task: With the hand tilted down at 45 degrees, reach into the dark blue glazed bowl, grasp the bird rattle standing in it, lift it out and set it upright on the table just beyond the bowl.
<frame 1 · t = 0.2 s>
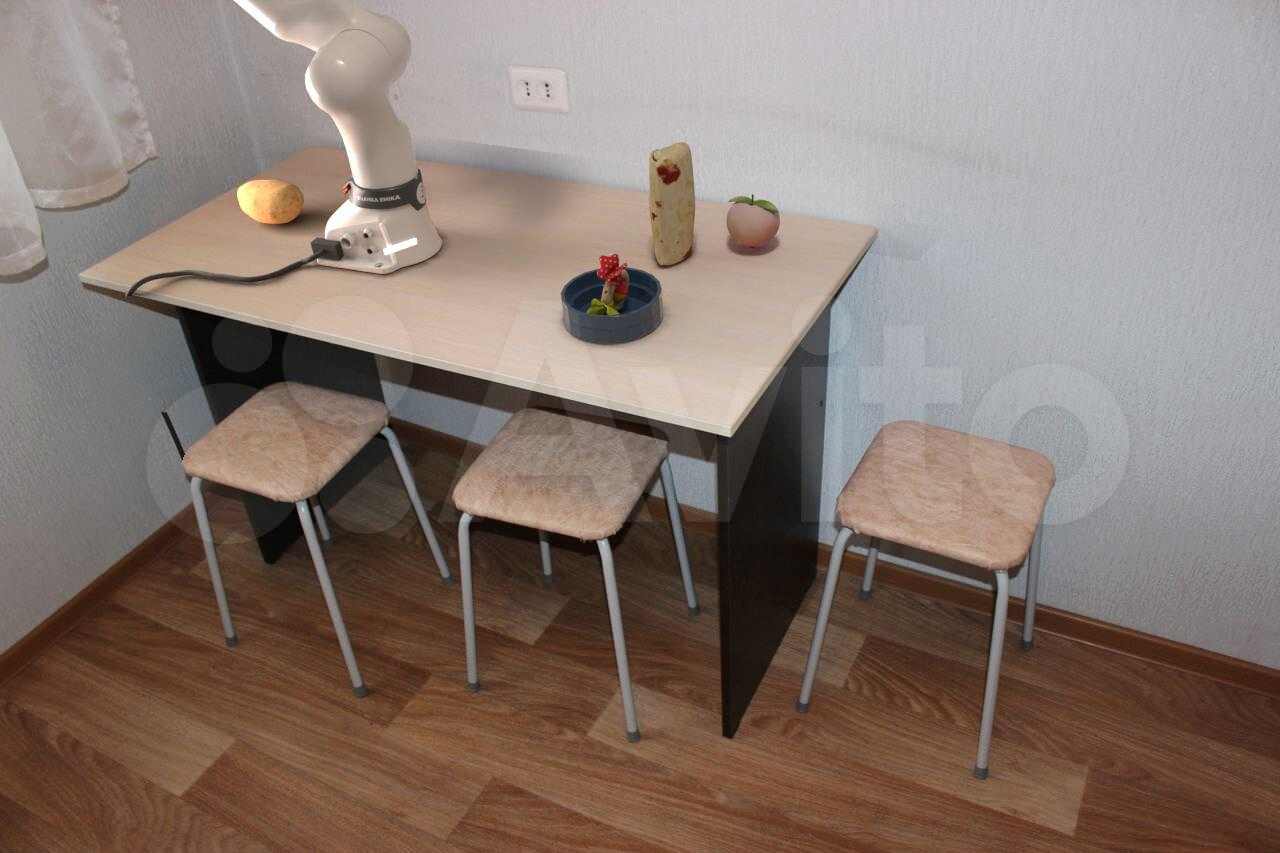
potato: (276, 222, 202), on the table
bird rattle: (613, 317, 165), resting on bowl
decorative fruit: (752, 250, 181), on the table
bowl: (613, 318, 165), on the table
food model: (674, 258, 180), on the table
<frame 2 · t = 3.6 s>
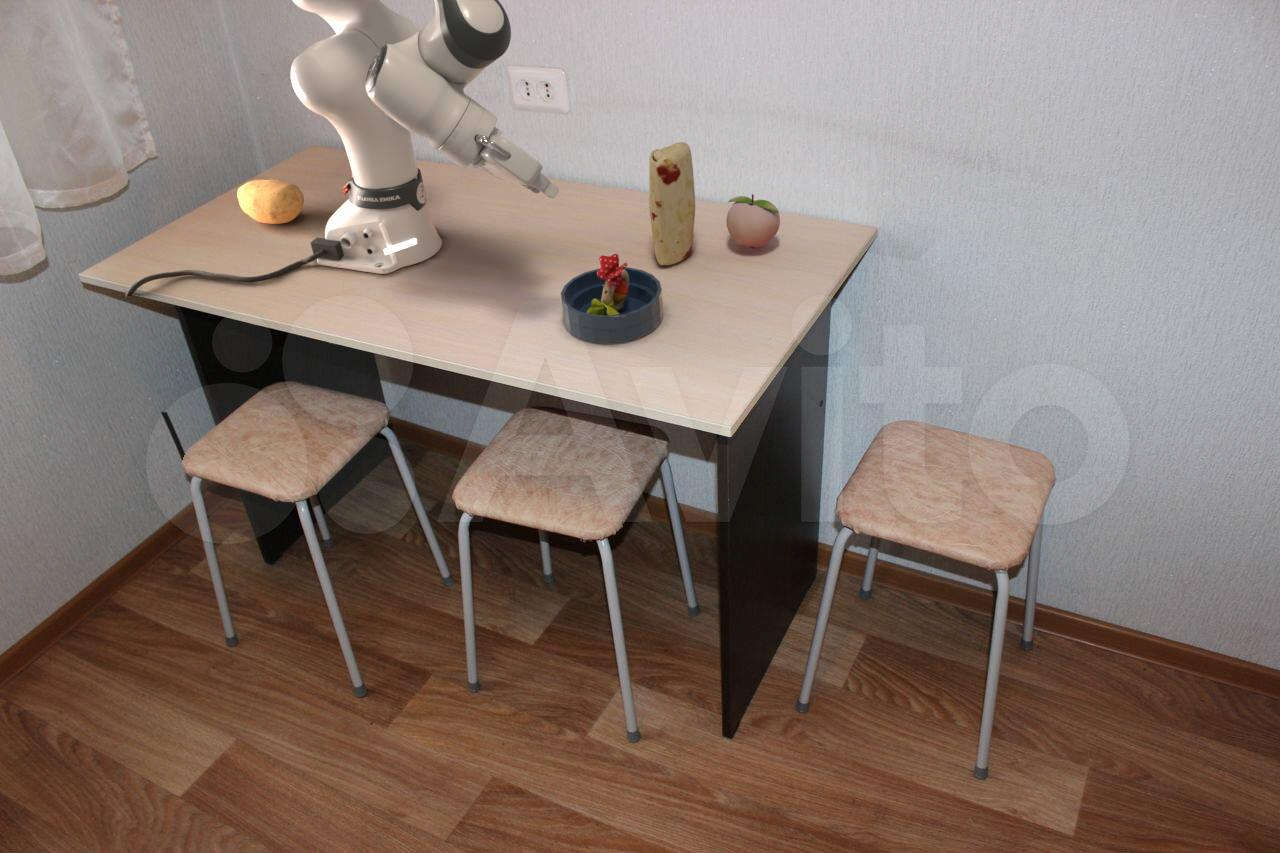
hand: (547, 191, 155), 21 cm above the table, tool tilted 45°, fingers open, 8 cm apart
nothing on the table moved.
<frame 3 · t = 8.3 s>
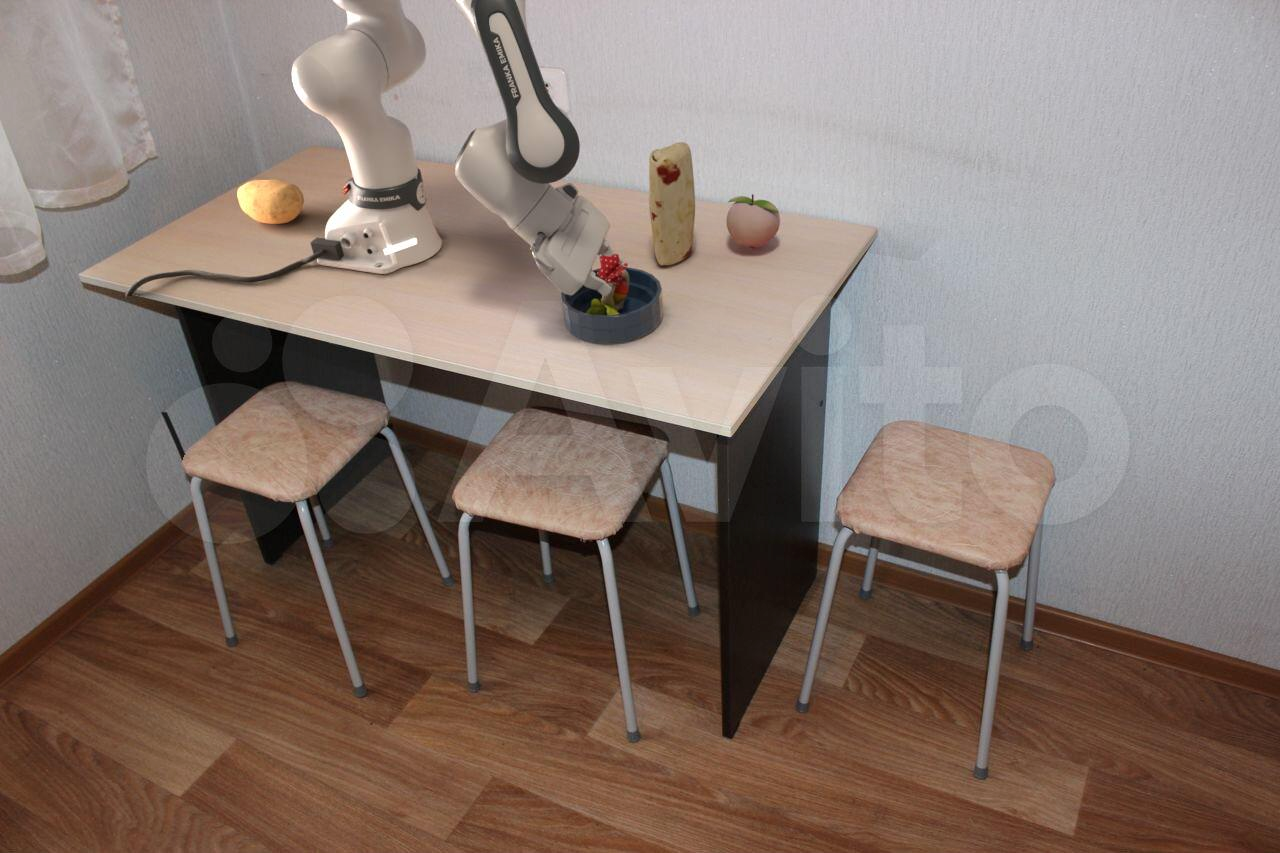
hand: (614, 279, 161), 7 cm above the table, tool tilted 45°, fingers closed on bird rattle, 6 cm apart
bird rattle: (613, 317, 165), resting on bowl, touching gripper
everything else where it was.
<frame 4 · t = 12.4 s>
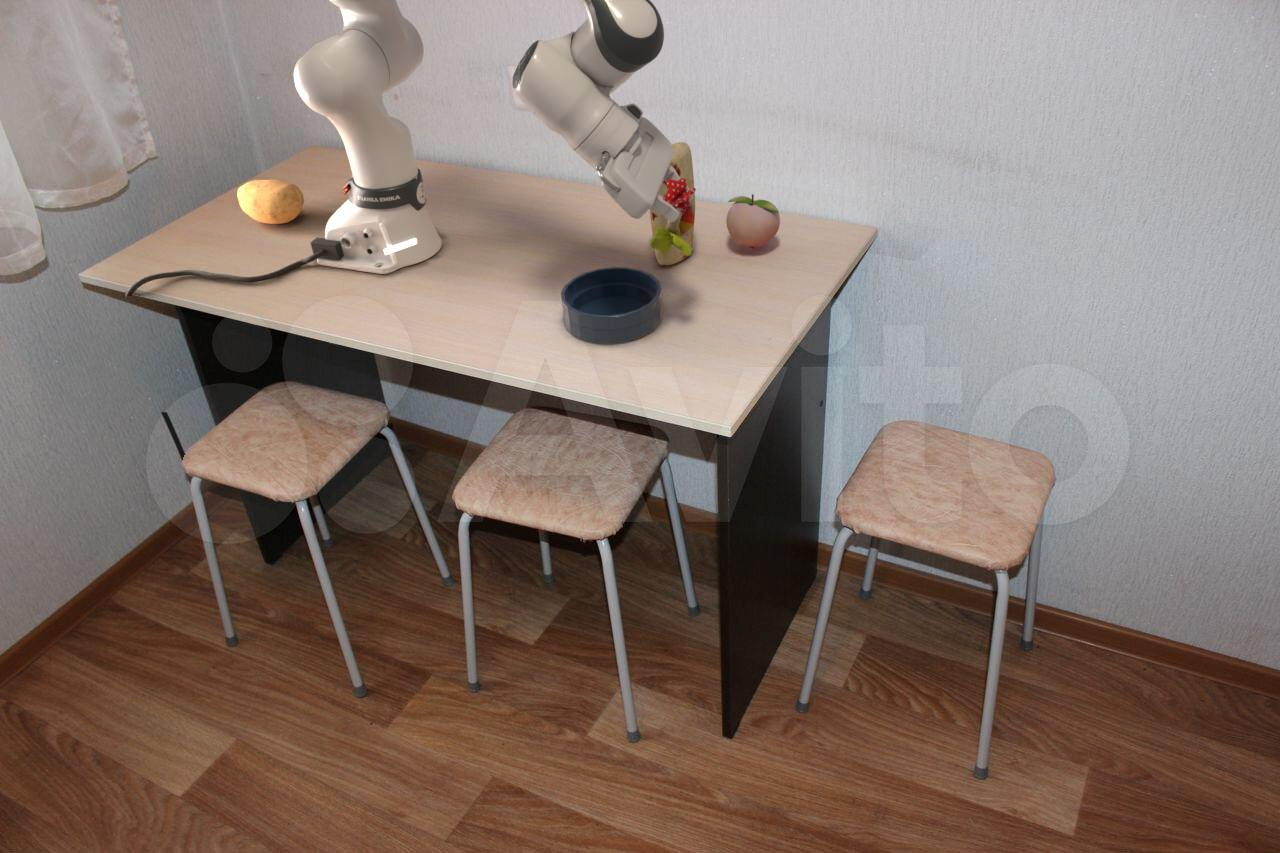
hand: (681, 205, 151), 20 cm above the table, tool tilted 45°, fingers closed on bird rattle, 6 cm apart
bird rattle: (678, 248, 155), point 13 cm above the table, touching gripper
everything else where it was.
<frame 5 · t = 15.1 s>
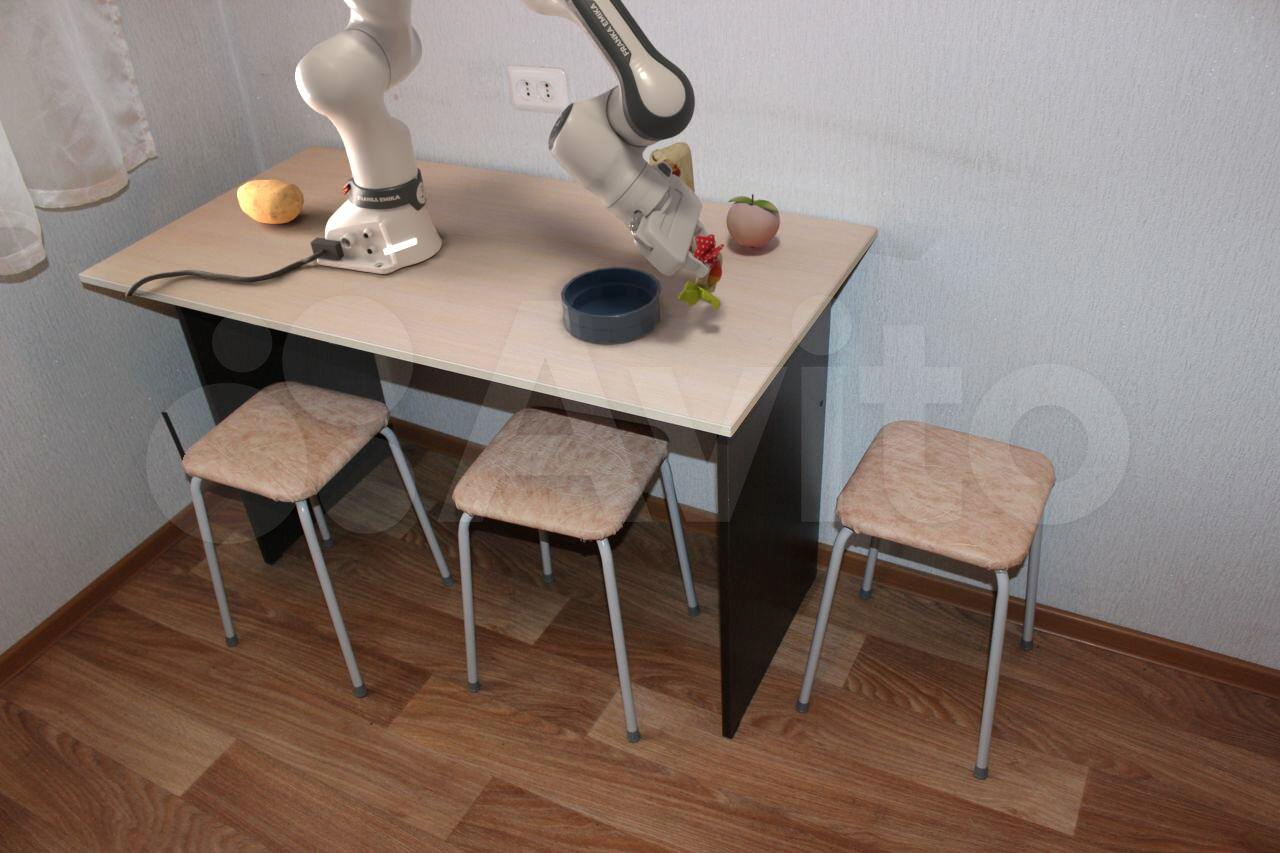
hand: (709, 260, 155), 11 cm above the table, tool tilted 45°, fingers closed on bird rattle, 6 cm apart
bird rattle: (705, 300, 159), point 4 cm above the table, touching gripper
everything else where it was.
when the fingers open (7 cm above the table, at t = 16.9 s): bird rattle stays where it is, on the table.
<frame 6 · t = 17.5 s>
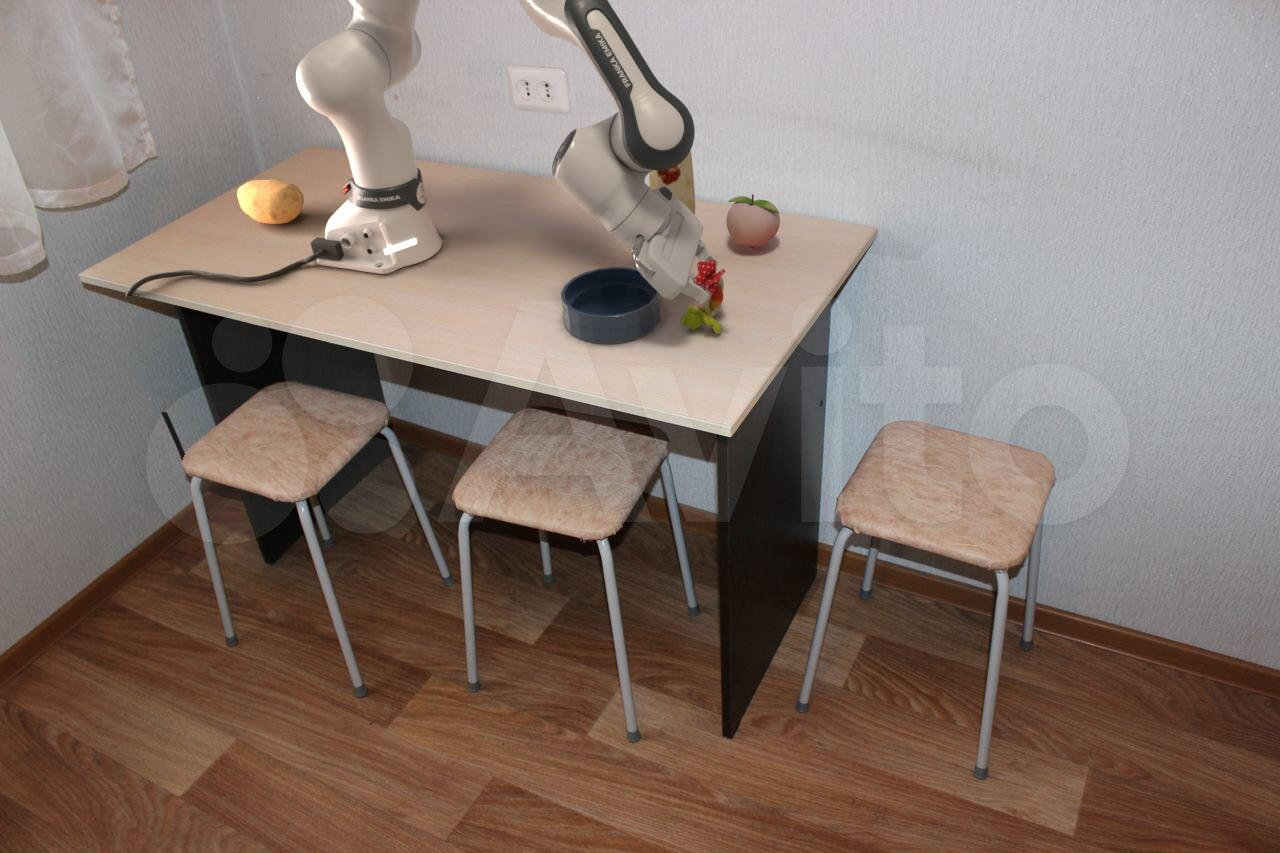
hand: (710, 282, 158), 7 cm above the table, tool tilted 45°, fingers open, 8 cm apart
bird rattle: (707, 324, 162), on the table
everything else where it was.
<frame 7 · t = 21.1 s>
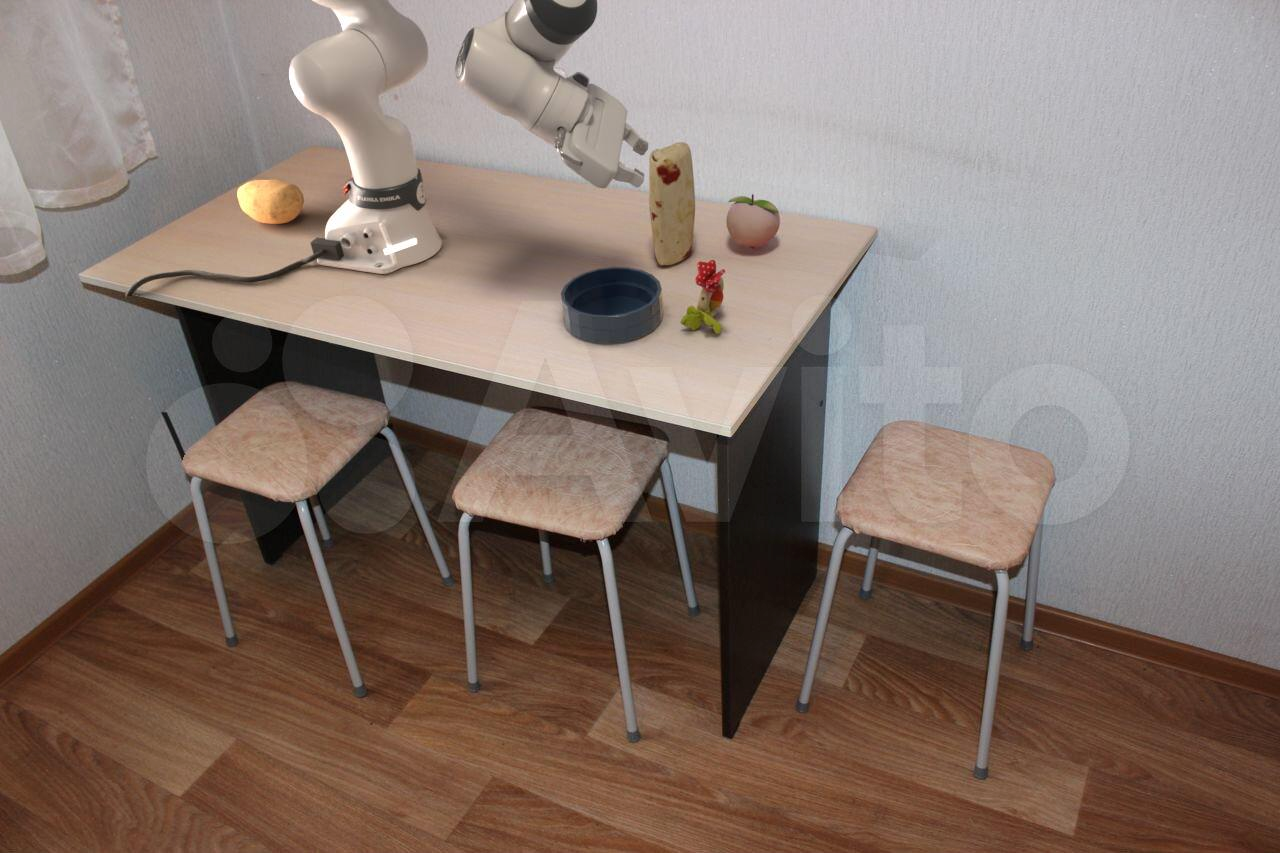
hand: (644, 165, 151), 24 cm above the table, tool tilted 55°, fingers open, 8 cm apart
nothing on the table moved.
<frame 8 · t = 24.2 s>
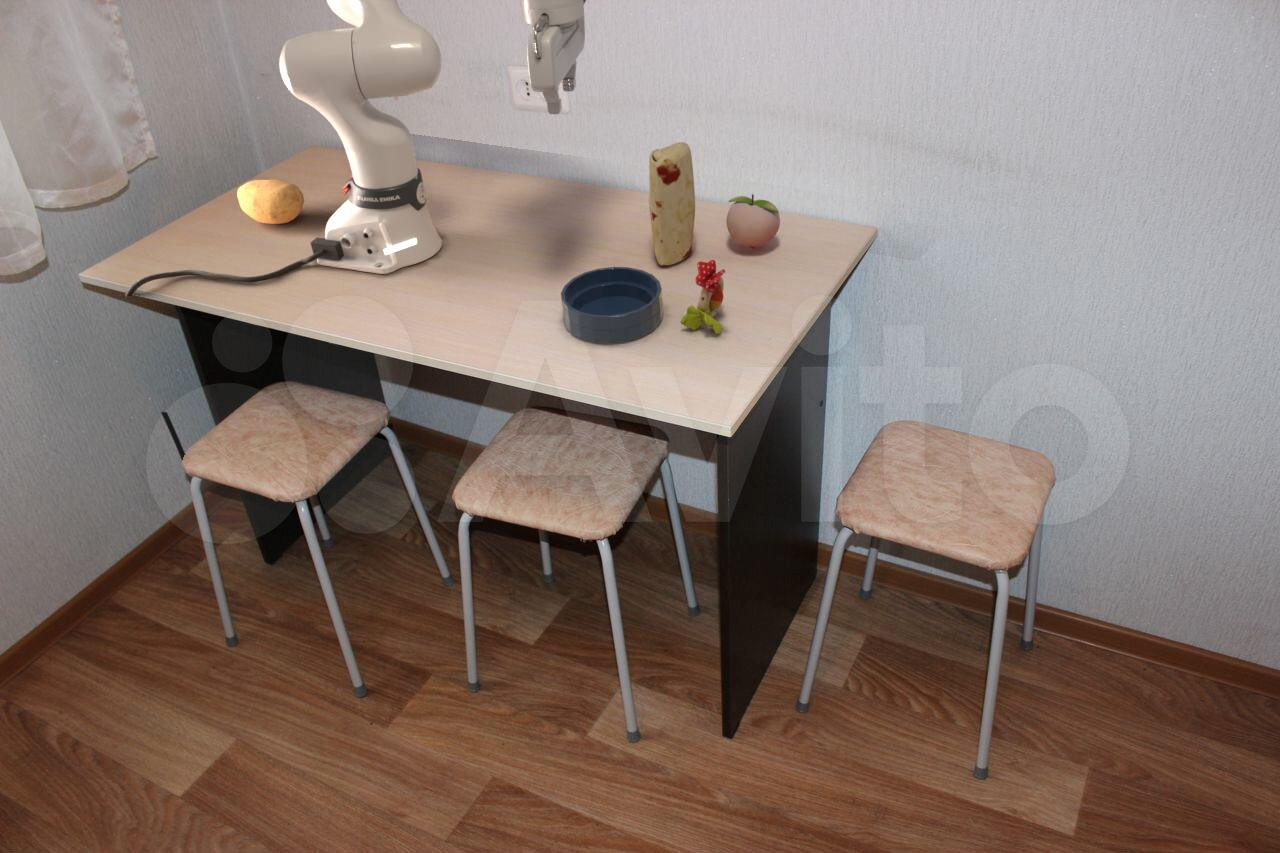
hand: (562, 100, 156), 31 cm above the table, tool pointing down, fingers open, 8 cm apart
nothing on the table moved.
at the end: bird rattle inside the target area (0.2 cm from its centre), on the table; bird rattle tilted 0°; the gripper is holding nothing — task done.
